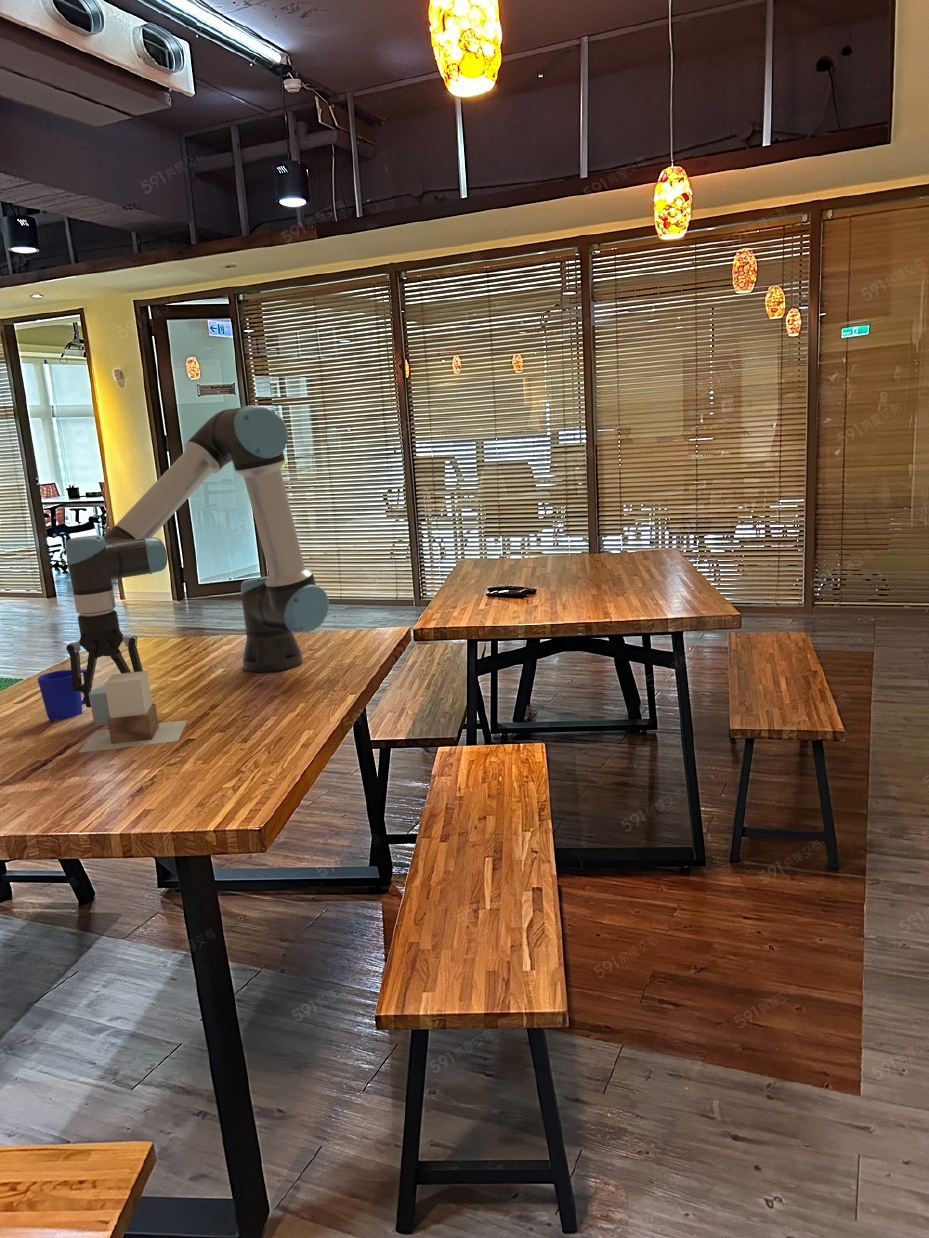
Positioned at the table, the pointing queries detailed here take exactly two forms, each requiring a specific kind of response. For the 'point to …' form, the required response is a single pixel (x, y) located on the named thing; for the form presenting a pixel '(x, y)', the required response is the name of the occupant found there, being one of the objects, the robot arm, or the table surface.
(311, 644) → the table surface
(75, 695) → the mug
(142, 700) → the brick
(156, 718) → the base brick
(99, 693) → the brick
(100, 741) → the plate
